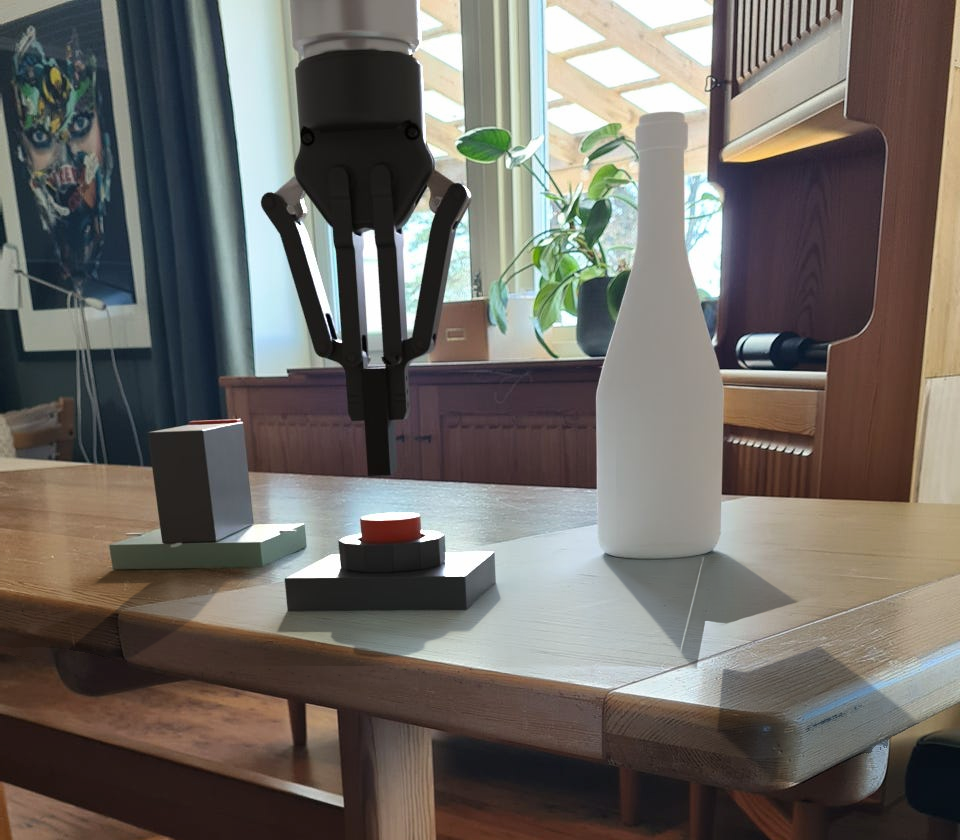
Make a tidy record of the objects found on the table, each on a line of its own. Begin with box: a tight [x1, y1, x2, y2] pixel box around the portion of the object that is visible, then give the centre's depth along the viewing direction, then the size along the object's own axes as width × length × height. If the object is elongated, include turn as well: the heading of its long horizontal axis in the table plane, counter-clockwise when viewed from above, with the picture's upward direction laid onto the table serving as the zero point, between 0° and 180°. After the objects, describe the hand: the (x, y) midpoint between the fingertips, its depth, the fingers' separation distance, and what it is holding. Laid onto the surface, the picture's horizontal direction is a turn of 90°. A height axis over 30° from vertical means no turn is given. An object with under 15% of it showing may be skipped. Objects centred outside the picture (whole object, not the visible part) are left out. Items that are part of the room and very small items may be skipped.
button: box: [359, 512, 422, 542], centre depth 85 cm, size 4×4×2 cm
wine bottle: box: [595, 111, 725, 560], centre depth 95 cm, size 10×10×30 cm
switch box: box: [284, 529, 497, 612], centre depth 86 cm, size 12×10×4 cm
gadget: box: [147, 418, 255, 543], centre depth 106 cm, size 11×4×9 cm, turn 174°
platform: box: [108, 523, 308, 571], centre depth 108 cm, size 15×15×2 cm
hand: (382, 473), depth 84 cm, fingers closed
